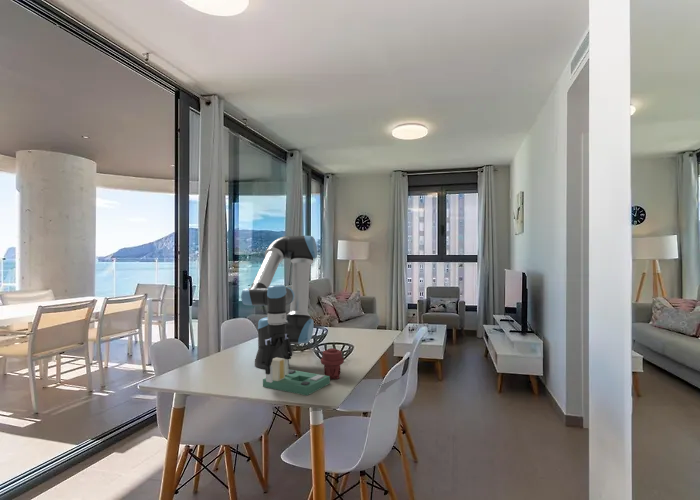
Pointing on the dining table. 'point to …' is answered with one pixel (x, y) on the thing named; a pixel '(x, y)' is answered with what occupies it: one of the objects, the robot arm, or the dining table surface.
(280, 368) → the plug
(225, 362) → the dining table surface
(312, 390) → the board
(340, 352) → the mechanical component
